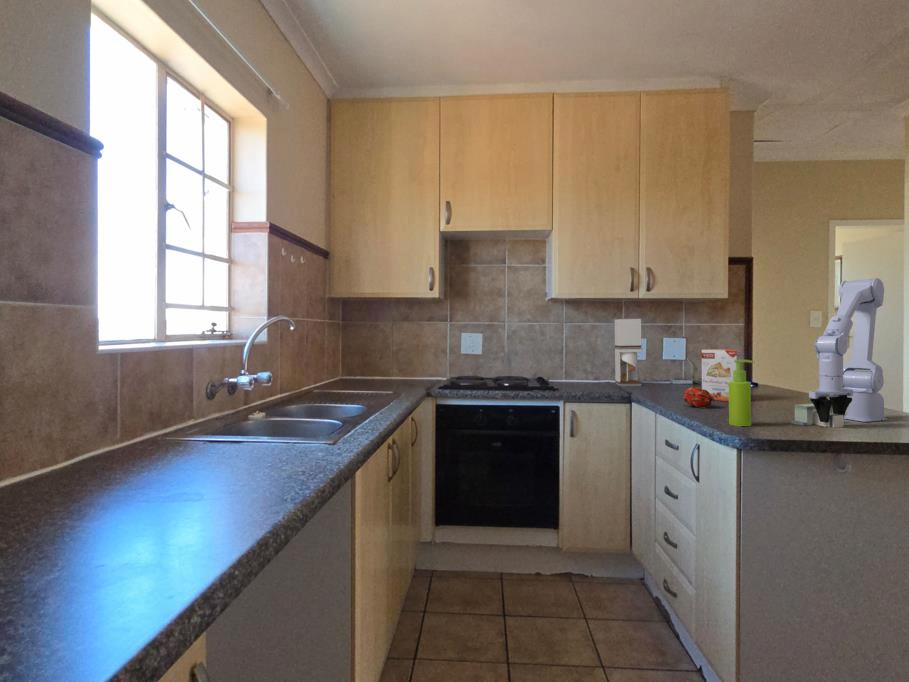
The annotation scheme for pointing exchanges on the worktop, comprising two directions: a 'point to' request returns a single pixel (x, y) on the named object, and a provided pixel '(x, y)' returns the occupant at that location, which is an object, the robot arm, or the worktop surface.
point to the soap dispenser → (740, 397)
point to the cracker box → (719, 371)
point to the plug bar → (834, 420)
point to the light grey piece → (627, 351)
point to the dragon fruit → (697, 397)
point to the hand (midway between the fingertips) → (831, 421)
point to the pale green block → (805, 414)
